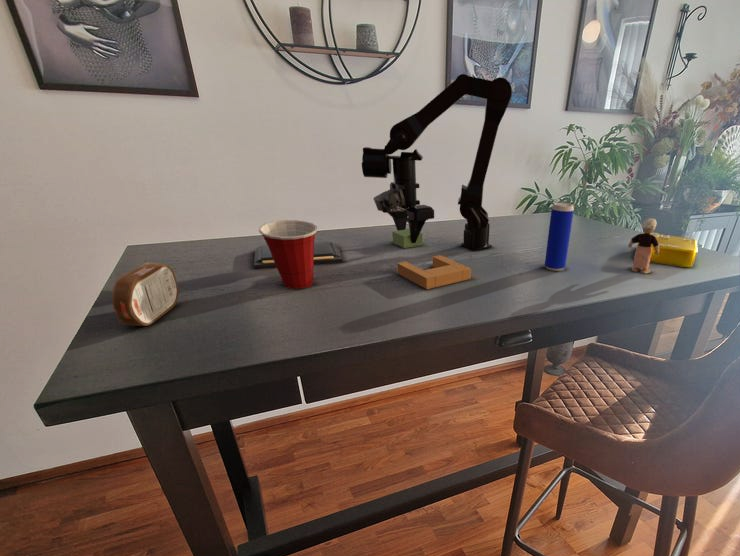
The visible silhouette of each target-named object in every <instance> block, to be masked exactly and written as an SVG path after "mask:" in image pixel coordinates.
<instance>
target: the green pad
mask: <svg viewBox="0 0 740 556" xmlns="http://www.w3.org/2000/svg"><path fill="white" fill-rule="evenodd" d="M391 233H392V244H393V245H396V246H398V247H400V248H403V249H408V248H413V247H419V246H420V247H421V246H423V245H424V244H423V243H424V242H423V233H422V232H420V234H419V236H418V238H417V241H416V243H412V242H411V236H410V229H409V228H406V229H405V230H398V231H397V230H392V231H391Z"/></svg>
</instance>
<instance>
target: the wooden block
mask: <svg viewBox="0 0 740 556" xmlns="http://www.w3.org/2000/svg"><path fill="white" fill-rule="evenodd" d="M396 264H397V266H396V267H397V268H396V269H397V274H398V275H399V276H401V277H403V278H405V279H407V280H409V281H411V282H412V283H414V284H416V285H418V286H419V287H422V288H423V289H425V290H429V289H434V288H438V287H443V286H447V285H451V284H455V283H460V282H463V281H468V280H471V276H472V275H471V272H472V269H471V267H468V266H466V265H463V264H461V263H459V262H457V261H455V260H452V259H450V258H448V257H446V256H443V255H441V254H439V255H434V256H432V268H428V269H422V268H420V267H418V266H416V265H414V264H412V263H410V262H407V261H401V262H397V263H396Z"/></svg>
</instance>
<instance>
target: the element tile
mask: <svg viewBox="0 0 740 556" xmlns="http://www.w3.org/2000/svg"><path fill="white" fill-rule="evenodd" d="M651 235H653V236H655V237H656V239H657V241H658V244H659V253H658V254H656V253H655V249H654V246H653V245H652V244H651V248H652V250H651V257H650V262H649V263H654V264H661V265H667V266H673V267H680V268H692V267H693V266H694V263H695V261H696V257H697V255H698V242H697V240H696V239H695V238H690V237H684V236H683V237H682V236H676V235H675V236H674V235H667V234H660V233H658V232H652V233H651ZM638 244H639V243H636V249H637V246H638ZM636 249H635V250H636Z"/></svg>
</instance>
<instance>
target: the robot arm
mask: <svg viewBox="0 0 740 556" xmlns="http://www.w3.org/2000/svg"><path fill="white" fill-rule="evenodd" d="M466 95H467V96H472V97H477V98H481V99H485V106H484V107H485V109H484V121H483V125H482V129H481V133H480V138H479V141H478V146H477V150H476V153H475V158H474V162H473V167H472V171H471V174H470V178H469V181H468V183H467V185H464V184H461V190H460V196H459V197H458V200H457V205H459V213H460V215H461V217H462V218H463V219H465V220H466V221H467V222H466V223H464V230H463V242H461V243H460V246H462V247H464V248H467V249H468V250H471V251H480V250H485V249H491V248H493V245H492V244H489V241H490V225H491V224H490V223H489V222H490V219H489V213H488V212H487V210H485V208H484V207H483V197H484V186H485V185H484V184H485V180H486V176H487V172H488V169H489V166H490V161H491V157H492V153H493V149H494V146H495V141H496V137H497V134H498V130H499V126H500V124H501V121H502V119H503V117H504V115H505V113H506V111H507V109H508V106H509V104H510V101H511V99H512V97H513V87H512V85H511V83H510V82H509V80H508V79H506V78H505V77H500V76H499V77H495V78H494V79H492V80H491V79H489V80H488V79H485V78H478V77H476V76H470V75H468V74H466V73H461V74H459V75H457V77H456V78H455V80H454V81H452V83H450V84H449V85H447V87H445V88H444V89H443V90H441V92H439V93H438V94H437V95H436V96H435V97H433V98H432V100H430V101H429V102H428V103H427V104H426V105H424V106H423V107H422V108H420V110H418V111H417V112H416V113H414V114H412V115H410V116H407V117H406V118H404V119H402V120H400V121H399V122H397V123H395V124H394V125H392V127H391V128H390V130H389V140H388V141H387V144H386V145H384V148H372V147H370V146H369V147H368V146H365V147H362V157H361V159H362V160H361V171H362V175H363V177H364V178H375V179H376V178H379V179H387V178H388V175H391V174H392V176H393V181H391V182H390V184H389V189H388V190H385V191H383V192H381V193H379V194H377V195H376V196H374V197H373V198H372V199H373V201H374V204H375V206H376V209H377V211H379V212H382V213H384V214H388V215H389V216H390V217H391V218H392V220H393V222H394V225H395V228H396V231H398V230H405V229H407V224H408V227H409V228H408V229H410V236H411V242H412V243H416V241H417V238H418V236H419V234H420V233H422V229H423V228H424V226H425V224H426V221H428V220H433V219H435V210H434V208H433V207H432V206H429V205H426V204H421V201H420V200H419V199H417V197H418V196H417V189H420V183H418V182H417V176H416V175H417V172H416V161H419V162H420V161H422V160H423V159H424V156H423V155H422V154H420V152H419V151H418V148H415V149H414V150H413V152H412V151H411V152H410V151H406V150H408V149H410V148H411V147H412V146H413V145H414V144H415V143H416V142H417V140H418V139H419V138H420V137H421V135H422V134H423V133H424V132H425V130H426V129H427V128H428V127H429V126H430V125H431V124H432V123H434V122H435V121H436V120H437V119H438V118H439V117H440V116H442V115H443V114H445V112H446V111H447V110H449V109H450V108H452V106H453V105H455V104H456V103H457V102H458V101H460V100H461V99H462V98H463V97H464V96H466ZM398 151H401V152H400V155H393V154H394V153H396V152H398Z"/></svg>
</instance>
